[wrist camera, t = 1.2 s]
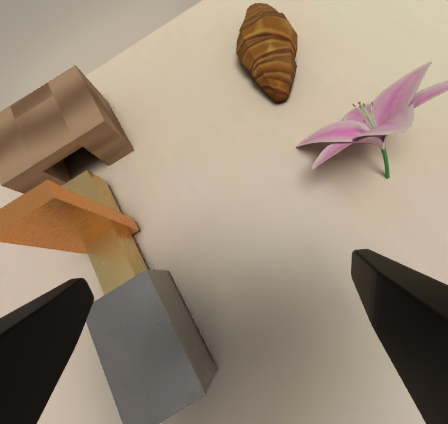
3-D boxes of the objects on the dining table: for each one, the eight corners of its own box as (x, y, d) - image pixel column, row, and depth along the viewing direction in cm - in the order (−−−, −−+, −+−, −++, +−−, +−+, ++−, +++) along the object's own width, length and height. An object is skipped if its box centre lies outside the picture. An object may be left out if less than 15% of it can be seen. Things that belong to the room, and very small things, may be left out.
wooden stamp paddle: (204, 363, 21) (147, 442, 11) (155, 393, 21) (53, 501, 11) (113, 177, 27) (23, 116, 17) (75, 200, 27) (-37, 154, 17)
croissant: (227, 27, 31) (220, -18, 27) (280, 11, 31) (283, -38, 26) (250, 115, 28) (247, 81, 23) (311, 99, 27) (321, 60, 22)
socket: (134, 149, 28) (104, 120, 23) (49, 202, 28) (0, 185, 23) (107, 101, 31) (75, 65, 26) (30, 149, 31) (-19, 123, 26)
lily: (414, 107, 26) (417, 6, 19) (500, 189, 18) (552, 70, 12) (302, 157, 30) (272, 89, 23) (333, 239, 23) (303, 174, 16)
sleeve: (217, 369, 21) (205, 394, 17) (158, 406, 21) (129, 441, 17) (168, 271, 24) (146, 269, 20) (116, 303, 24) (81, 309, 19)
